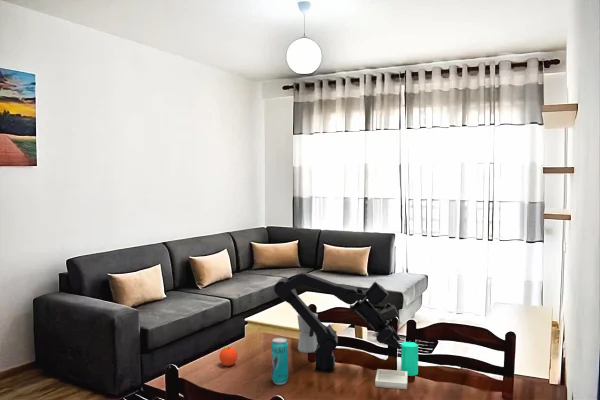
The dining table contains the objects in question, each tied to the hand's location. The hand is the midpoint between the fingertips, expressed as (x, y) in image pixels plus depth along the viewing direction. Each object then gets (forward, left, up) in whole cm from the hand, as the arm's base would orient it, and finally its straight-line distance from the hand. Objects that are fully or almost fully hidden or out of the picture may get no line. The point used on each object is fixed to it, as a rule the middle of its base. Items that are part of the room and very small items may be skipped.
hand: (400, 344), depth 177 cm
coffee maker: (-38, +15, -10) cm, 42 cm away
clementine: (-65, -7, -11) cm, 66 cm away
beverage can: (-41, -18, -10) cm, 46 cm away
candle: (+3, 0, -10) cm, 11 cm away
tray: (-3, -9, -10) cm, 14 cm away
